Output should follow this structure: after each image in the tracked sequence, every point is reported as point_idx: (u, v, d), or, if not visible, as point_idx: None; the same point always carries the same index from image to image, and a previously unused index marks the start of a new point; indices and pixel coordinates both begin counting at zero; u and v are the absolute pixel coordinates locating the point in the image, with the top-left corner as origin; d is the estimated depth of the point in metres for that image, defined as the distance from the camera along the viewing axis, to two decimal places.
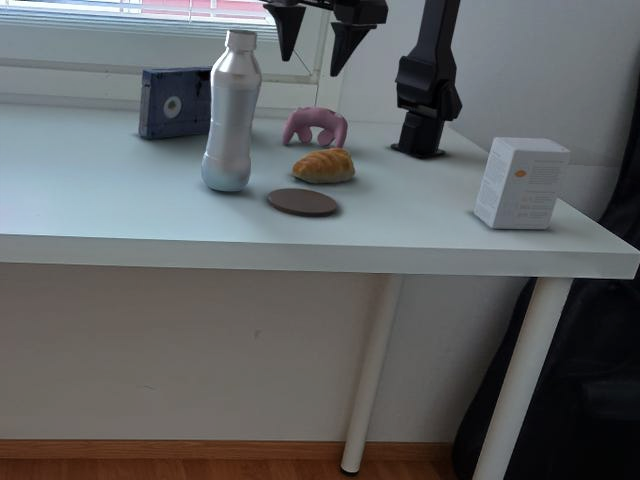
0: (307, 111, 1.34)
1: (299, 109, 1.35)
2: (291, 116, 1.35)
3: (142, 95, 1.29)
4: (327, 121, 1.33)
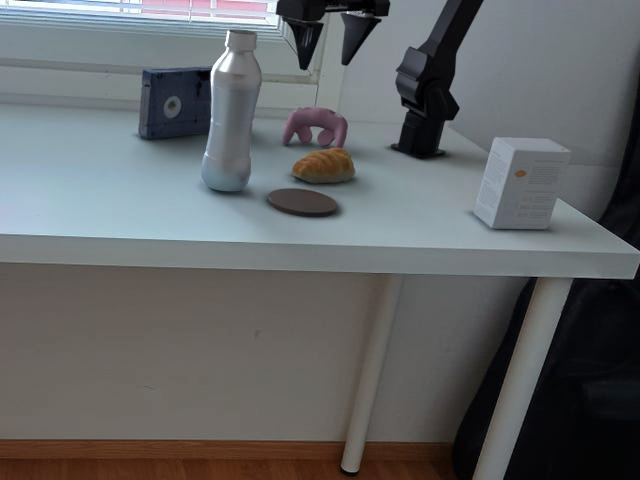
0: (307, 111, 1.34)
1: (299, 109, 1.35)
2: (291, 116, 1.35)
3: (142, 95, 1.29)
4: (327, 121, 1.33)
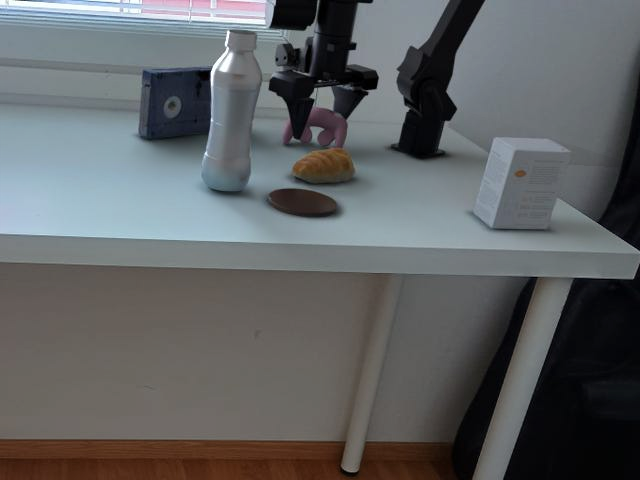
0: None
1: None
2: None
3: (142, 95, 1.29)
4: (327, 121, 1.33)
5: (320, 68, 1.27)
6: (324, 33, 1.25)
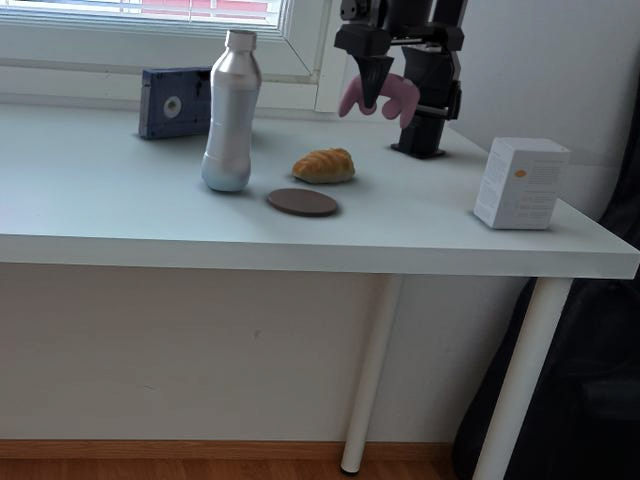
0: None
1: None
2: (351, 83, 1.13)
3: (142, 95, 1.29)
4: (393, 89, 1.11)
5: (397, 21, 1.05)
6: None
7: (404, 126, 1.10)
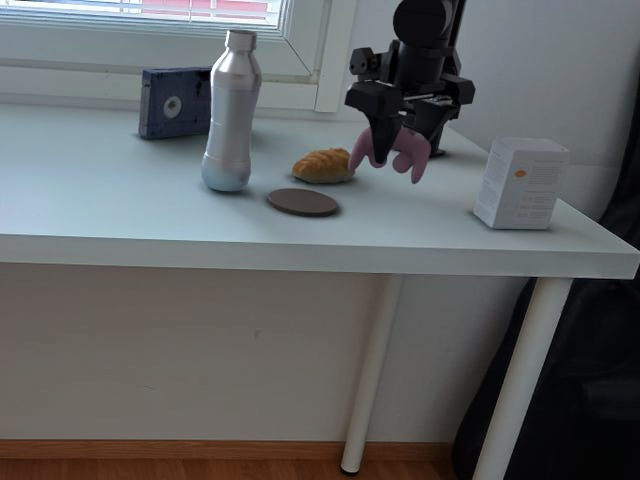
0: None
1: None
2: (361, 136, 1.12)
3: (142, 95, 1.29)
4: (404, 144, 1.09)
5: (408, 78, 1.04)
6: None
7: (416, 182, 1.09)
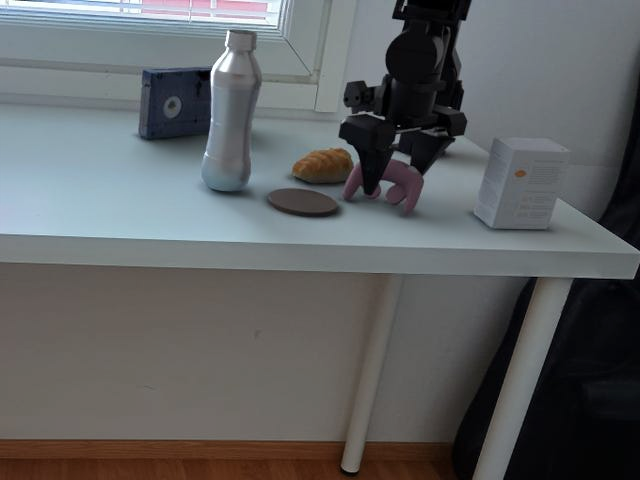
0: None
1: None
2: (356, 167, 1.14)
3: (142, 95, 1.29)
4: (398, 176, 1.12)
5: (401, 112, 1.06)
6: None
7: (408, 212, 1.11)
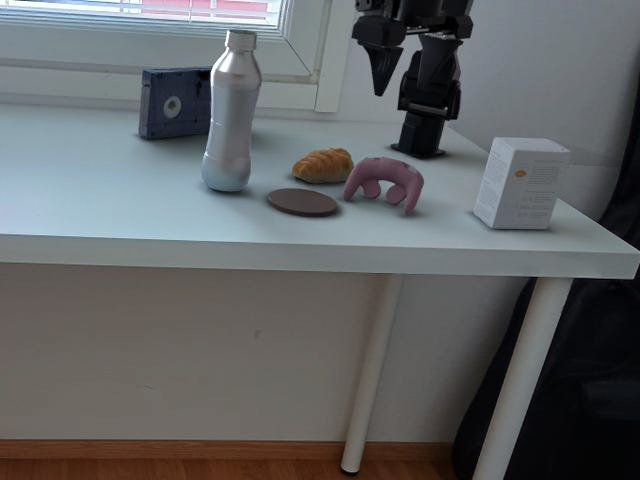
0: (375, 162, 1.13)
1: (366, 159, 1.14)
2: (356, 167, 1.14)
3: (142, 95, 1.29)
4: (398, 175, 1.12)
5: (411, 12, 1.11)
6: None
7: (408, 212, 1.11)
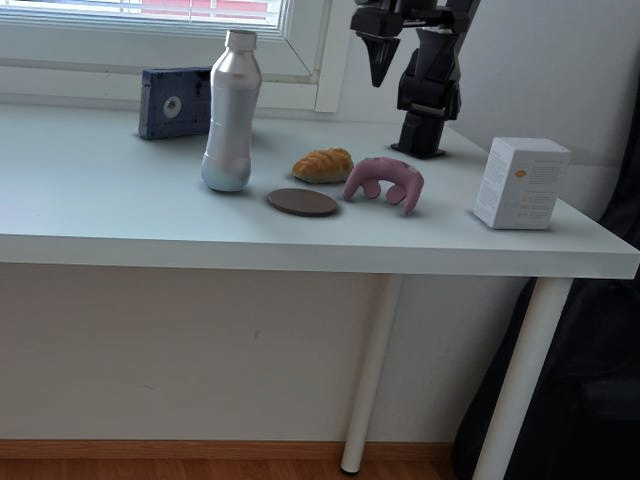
0: (375, 162, 1.13)
1: (366, 159, 1.14)
2: (356, 167, 1.14)
3: (142, 95, 1.29)
4: (398, 175, 1.12)
5: (408, 5, 1.14)
6: None
7: (408, 212, 1.11)
